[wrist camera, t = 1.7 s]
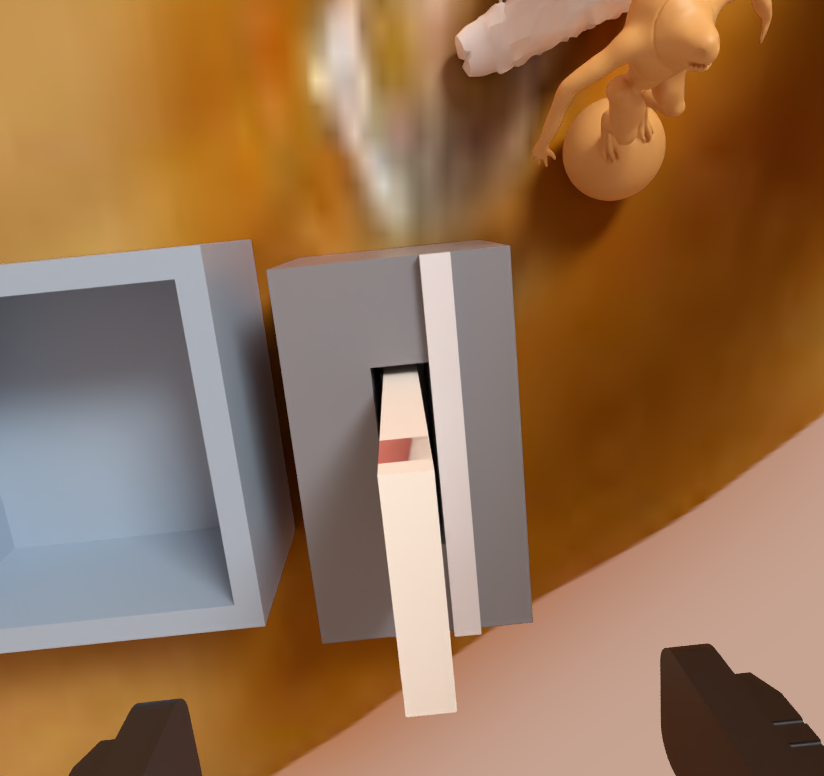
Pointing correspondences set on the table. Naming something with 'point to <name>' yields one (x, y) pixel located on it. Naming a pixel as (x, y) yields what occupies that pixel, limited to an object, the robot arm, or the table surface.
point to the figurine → (635, 95)
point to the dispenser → (445, 417)
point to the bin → (137, 448)
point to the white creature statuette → (527, 30)
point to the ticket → (414, 546)
